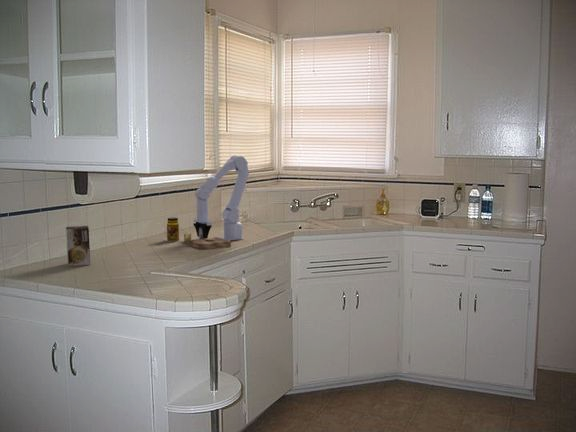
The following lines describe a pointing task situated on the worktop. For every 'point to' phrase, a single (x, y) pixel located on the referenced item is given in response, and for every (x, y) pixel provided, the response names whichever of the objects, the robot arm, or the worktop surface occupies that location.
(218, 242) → the hole block
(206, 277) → the worktop surface
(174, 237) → the condiment
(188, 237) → the short stub
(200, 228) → the grey cylinder
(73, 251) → the coffee box
